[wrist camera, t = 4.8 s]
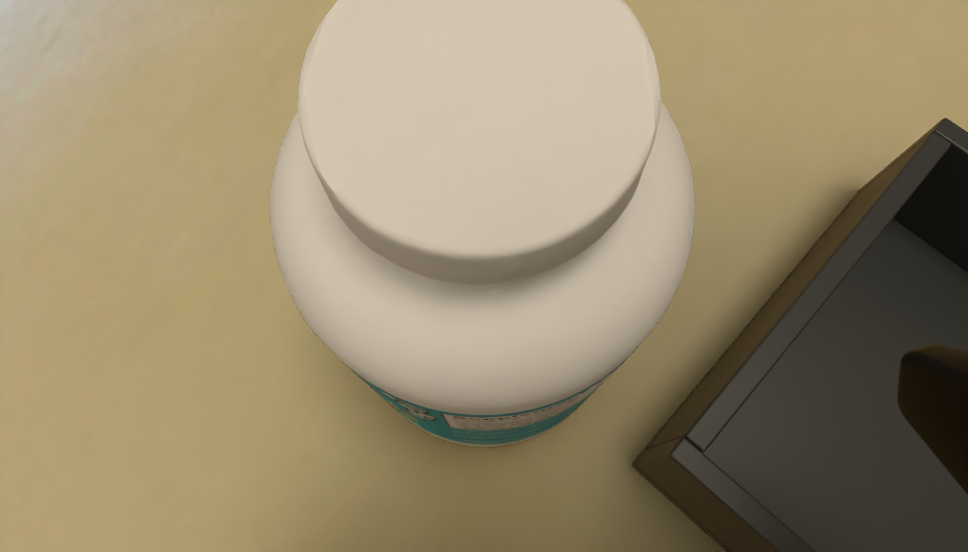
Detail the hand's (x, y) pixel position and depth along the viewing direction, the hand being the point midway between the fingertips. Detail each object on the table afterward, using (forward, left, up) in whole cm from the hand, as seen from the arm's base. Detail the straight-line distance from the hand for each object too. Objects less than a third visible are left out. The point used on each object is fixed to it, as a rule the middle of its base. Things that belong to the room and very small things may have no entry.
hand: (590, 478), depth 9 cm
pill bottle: (+3, +4, -12) cm, 13 cm away
